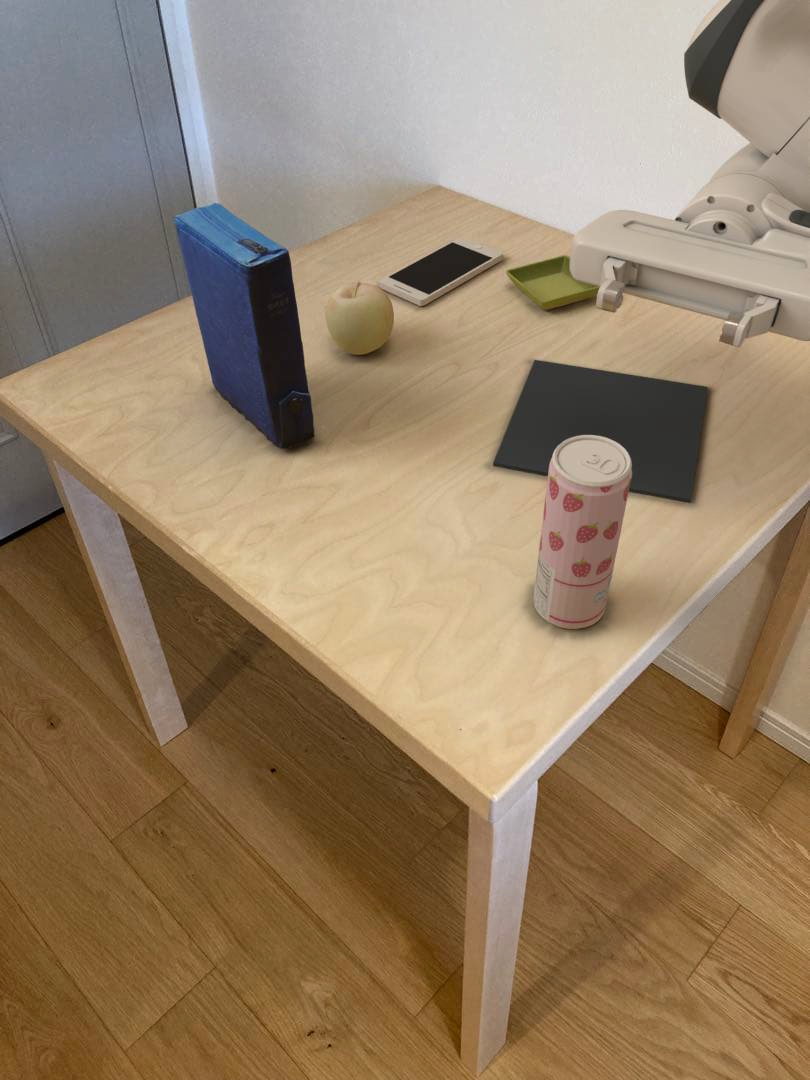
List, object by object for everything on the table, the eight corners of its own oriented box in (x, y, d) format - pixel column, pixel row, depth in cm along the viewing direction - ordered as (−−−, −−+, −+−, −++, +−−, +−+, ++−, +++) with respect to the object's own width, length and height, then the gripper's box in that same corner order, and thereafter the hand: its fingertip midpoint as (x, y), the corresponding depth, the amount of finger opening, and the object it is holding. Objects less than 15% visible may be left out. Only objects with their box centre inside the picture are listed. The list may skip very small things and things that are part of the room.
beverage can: (603, 636, 69) (634, 489, 58) (529, 626, 70) (546, 479, 59) (606, 583, 73) (635, 436, 62) (536, 574, 74) (553, 428, 63)
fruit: (405, 355, 97) (403, 288, 92) (341, 370, 95) (335, 303, 90) (380, 322, 102) (377, 256, 97) (319, 335, 101) (312, 270, 95)
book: (325, 440, 87) (303, 246, 73) (278, 462, 85) (247, 266, 71) (250, 375, 95) (218, 190, 81) (206, 393, 93) (165, 206, 79)
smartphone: (504, 259, 112) (504, 251, 112) (421, 307, 104) (421, 299, 104) (460, 242, 116) (461, 235, 115) (377, 287, 108) (377, 280, 107)
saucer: (503, 285, 108) (504, 269, 106) (564, 269, 110) (566, 253, 109) (540, 319, 102) (542, 302, 101) (604, 301, 104) (607, 285, 103)
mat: (707, 389, 91) (708, 386, 91) (690, 502, 79) (691, 499, 79) (534, 362, 96) (534, 359, 95) (493, 465, 84) (493, 462, 83)
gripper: (612, 177, 75) (540, 244, 67) (868, 232, 67) (822, 316, 59) (602, 248, 79) (533, 319, 71) (841, 307, 71) (795, 395, 63)
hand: (666, 318), depth 65 cm, fingers open, 8 cm apart
